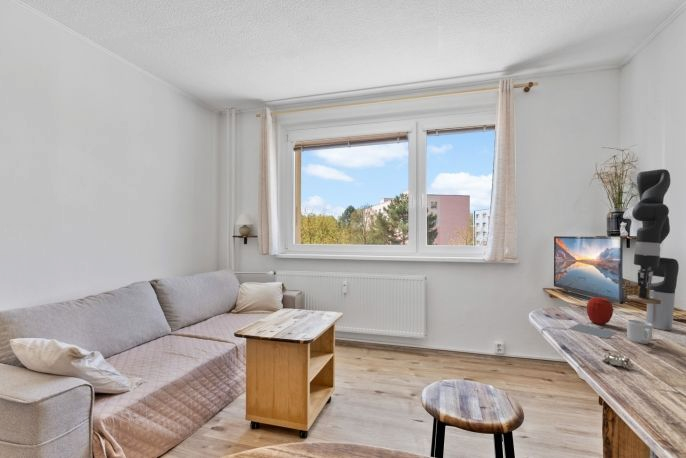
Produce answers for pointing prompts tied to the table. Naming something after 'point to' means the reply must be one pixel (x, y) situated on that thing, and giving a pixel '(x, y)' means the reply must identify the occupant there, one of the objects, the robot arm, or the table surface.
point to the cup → (639, 331)
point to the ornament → (618, 361)
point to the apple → (599, 310)
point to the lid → (644, 300)
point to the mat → (592, 331)
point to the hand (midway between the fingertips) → (643, 296)
